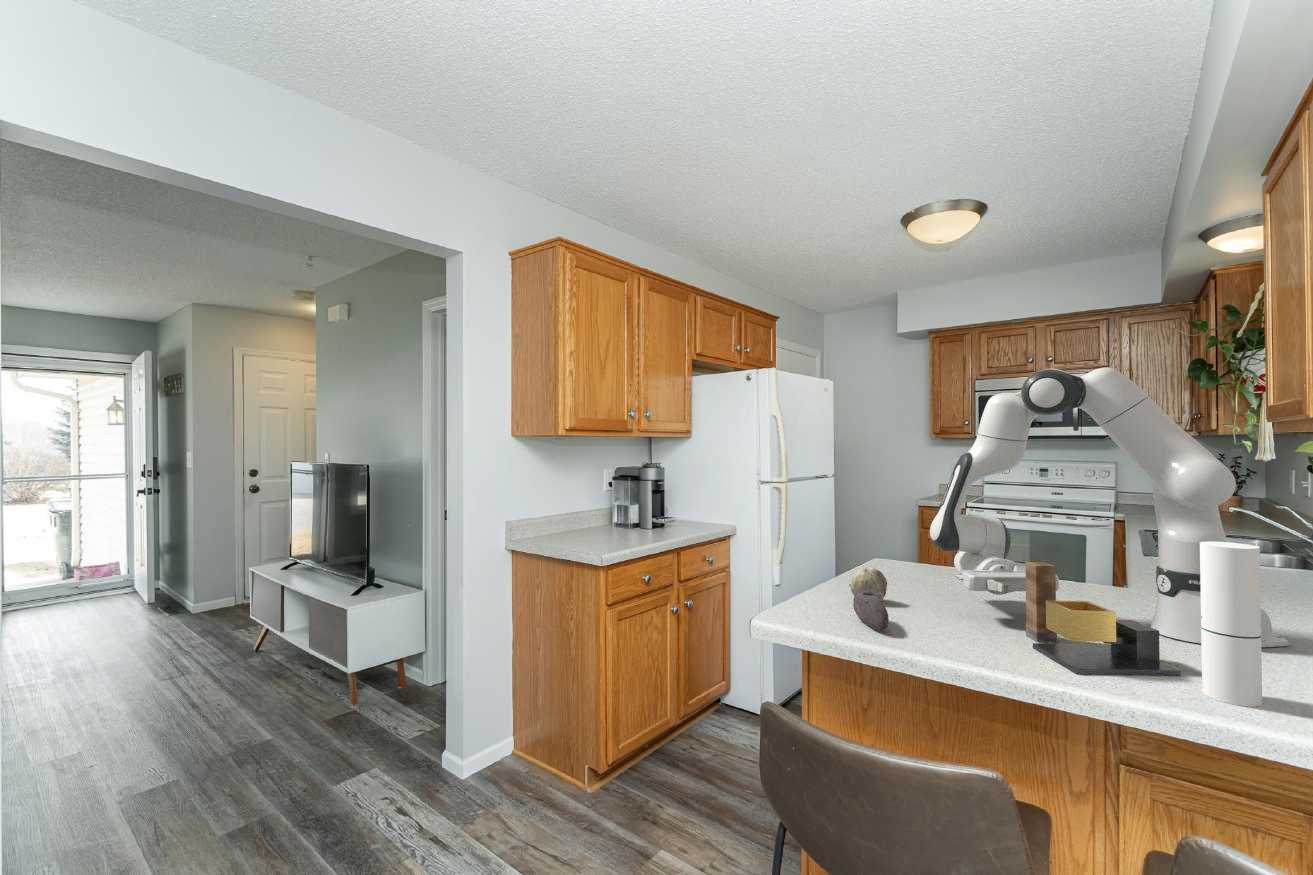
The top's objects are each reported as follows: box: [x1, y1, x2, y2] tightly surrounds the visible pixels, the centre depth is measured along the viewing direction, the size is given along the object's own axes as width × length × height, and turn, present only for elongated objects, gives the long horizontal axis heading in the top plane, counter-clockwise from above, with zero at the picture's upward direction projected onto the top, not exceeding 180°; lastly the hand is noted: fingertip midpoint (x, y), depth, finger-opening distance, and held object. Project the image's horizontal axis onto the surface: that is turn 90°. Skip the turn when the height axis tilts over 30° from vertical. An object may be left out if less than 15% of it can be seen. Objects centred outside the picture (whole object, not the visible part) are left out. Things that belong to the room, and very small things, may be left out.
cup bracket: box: [1032, 600, 1182, 677], centre depth 115 cm, size 18×14×10 cm
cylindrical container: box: [1200, 541, 1263, 708], centre depth 99 cm, size 7×7×25 cm
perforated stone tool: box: [853, 590, 889, 633], centre depth 139 cm, size 15×5×7 cm, turn 178°
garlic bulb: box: [848, 567, 888, 601], centre depth 160 cm, size 9×8×10 cm
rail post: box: [1024, 561, 1058, 643], centre depth 129 cm, size 4×4×16 cm
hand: (1026, 588), depth 134 cm, fingers open, 8 cm apart
